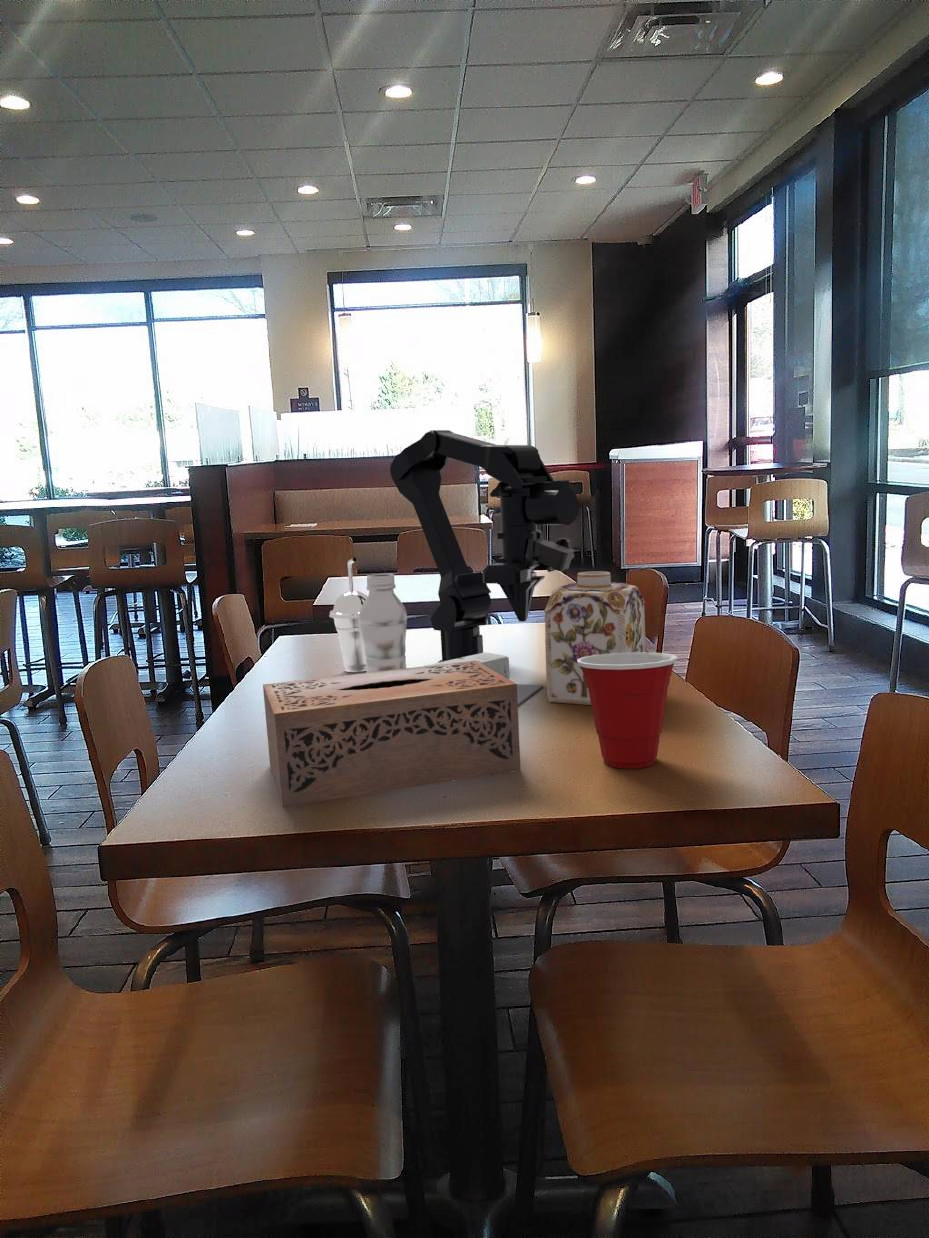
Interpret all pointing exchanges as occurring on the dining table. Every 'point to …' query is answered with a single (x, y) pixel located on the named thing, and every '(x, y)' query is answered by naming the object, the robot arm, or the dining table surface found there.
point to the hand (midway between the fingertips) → (522, 621)
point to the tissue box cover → (390, 730)
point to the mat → (526, 691)
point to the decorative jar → (589, 630)
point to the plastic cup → (628, 704)
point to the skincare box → (485, 662)
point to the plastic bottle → (383, 625)
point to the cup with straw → (350, 626)
